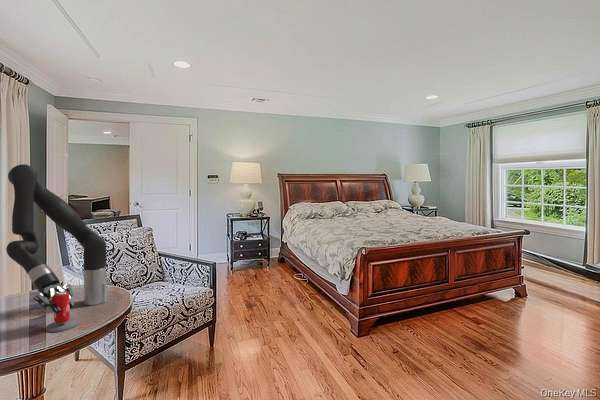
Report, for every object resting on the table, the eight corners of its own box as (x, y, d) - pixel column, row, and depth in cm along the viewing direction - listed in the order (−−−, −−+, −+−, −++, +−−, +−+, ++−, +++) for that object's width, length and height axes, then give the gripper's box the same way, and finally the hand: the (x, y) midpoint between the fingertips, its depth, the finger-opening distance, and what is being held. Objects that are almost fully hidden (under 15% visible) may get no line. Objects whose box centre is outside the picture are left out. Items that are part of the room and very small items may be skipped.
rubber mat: (82, 318, 136) (82, 316, 136) (75, 329, 126) (75, 327, 126) (51, 322, 132) (51, 320, 131) (41, 334, 121) (41, 332, 121)
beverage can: (59, 318, 131) (59, 290, 130) (72, 318, 131) (72, 290, 130) (50, 324, 126) (50, 295, 125) (64, 324, 126) (63, 295, 125)
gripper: (29, 277, 122) (52, 311, 120) (65, 267, 136) (86, 298, 134) (19, 288, 124) (42, 322, 122) (56, 278, 138) (77, 308, 135)
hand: (65, 309), depth 128 cm, fingers closed on beverage can, 4 cm apart
